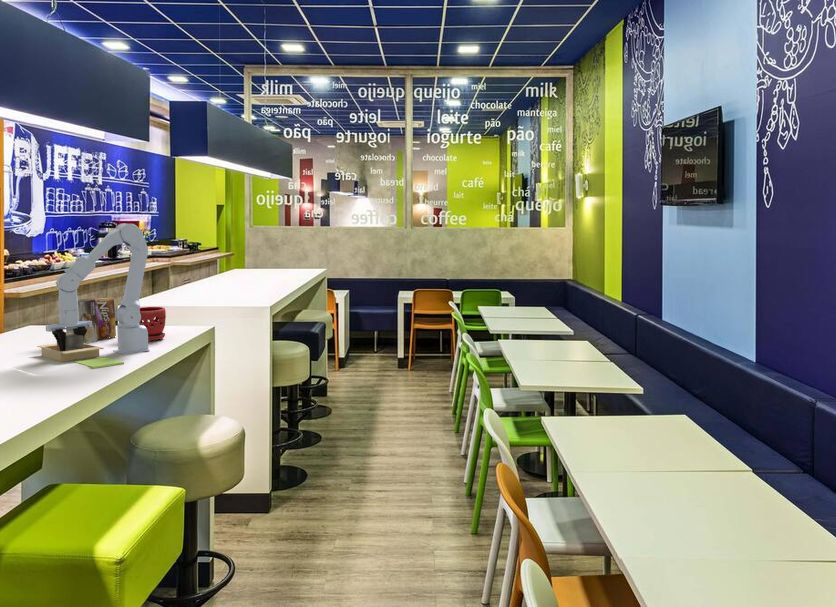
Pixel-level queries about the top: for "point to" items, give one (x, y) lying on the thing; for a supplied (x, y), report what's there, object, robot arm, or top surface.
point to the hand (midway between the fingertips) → (70, 350)
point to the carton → (69, 352)
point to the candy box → (105, 318)
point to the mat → (99, 362)
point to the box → (72, 342)
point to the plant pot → (153, 321)
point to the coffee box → (87, 319)
